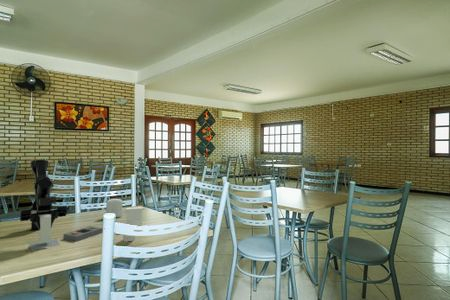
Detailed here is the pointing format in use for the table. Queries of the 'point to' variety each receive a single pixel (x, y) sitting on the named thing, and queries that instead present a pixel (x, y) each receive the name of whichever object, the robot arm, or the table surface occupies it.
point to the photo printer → (114, 207)
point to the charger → (45, 229)
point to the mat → (43, 245)
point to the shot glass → (128, 238)
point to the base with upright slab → (134, 216)
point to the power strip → (82, 233)
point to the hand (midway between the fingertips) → (45, 228)
